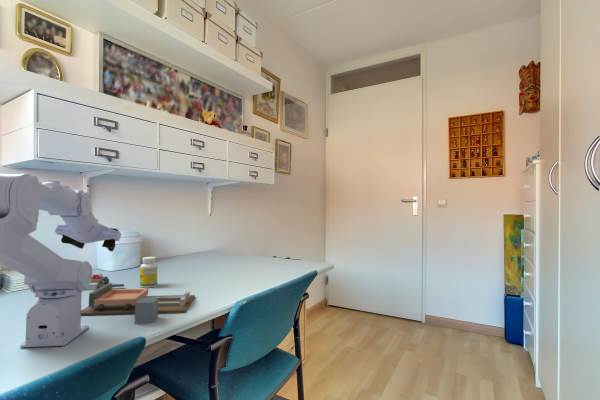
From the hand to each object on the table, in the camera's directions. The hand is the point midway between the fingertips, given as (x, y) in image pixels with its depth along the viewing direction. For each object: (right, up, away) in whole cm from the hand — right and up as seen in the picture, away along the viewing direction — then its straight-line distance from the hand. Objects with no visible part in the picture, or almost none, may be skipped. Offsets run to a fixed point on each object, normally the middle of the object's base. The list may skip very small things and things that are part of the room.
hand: (98, 246), depth 86 cm
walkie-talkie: (-13, -17, +17) cm, 27 cm away
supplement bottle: (+4, -17, +20) cm, 26 cm away
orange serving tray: (+8, -16, -1) cm, 18 cm away
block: (+19, -16, -11) cm, 28 cm away
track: (+13, -16, 0) cm, 21 cm away
